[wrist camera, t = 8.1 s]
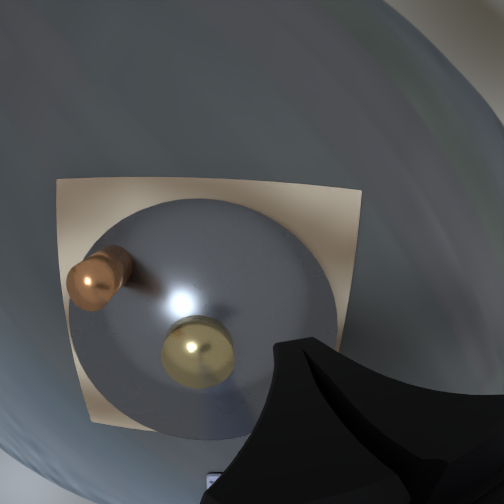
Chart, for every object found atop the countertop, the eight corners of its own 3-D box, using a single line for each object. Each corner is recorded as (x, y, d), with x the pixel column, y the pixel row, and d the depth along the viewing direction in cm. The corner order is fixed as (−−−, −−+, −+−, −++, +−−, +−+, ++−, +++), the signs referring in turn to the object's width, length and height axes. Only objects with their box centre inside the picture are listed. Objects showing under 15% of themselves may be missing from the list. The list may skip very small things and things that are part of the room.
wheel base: (315, 420, 21) (319, 430, 20) (95, 411, 19) (91, 421, 18) (353, 189, 17) (361, 190, 16) (66, 179, 15) (56, 179, 14)
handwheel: (308, 170, 15) (342, 166, 11) (338, 399, 19) (363, 445, 14) (45, 237, 15) (-4, 256, 10) (132, 437, 18) (120, 484, 13)
